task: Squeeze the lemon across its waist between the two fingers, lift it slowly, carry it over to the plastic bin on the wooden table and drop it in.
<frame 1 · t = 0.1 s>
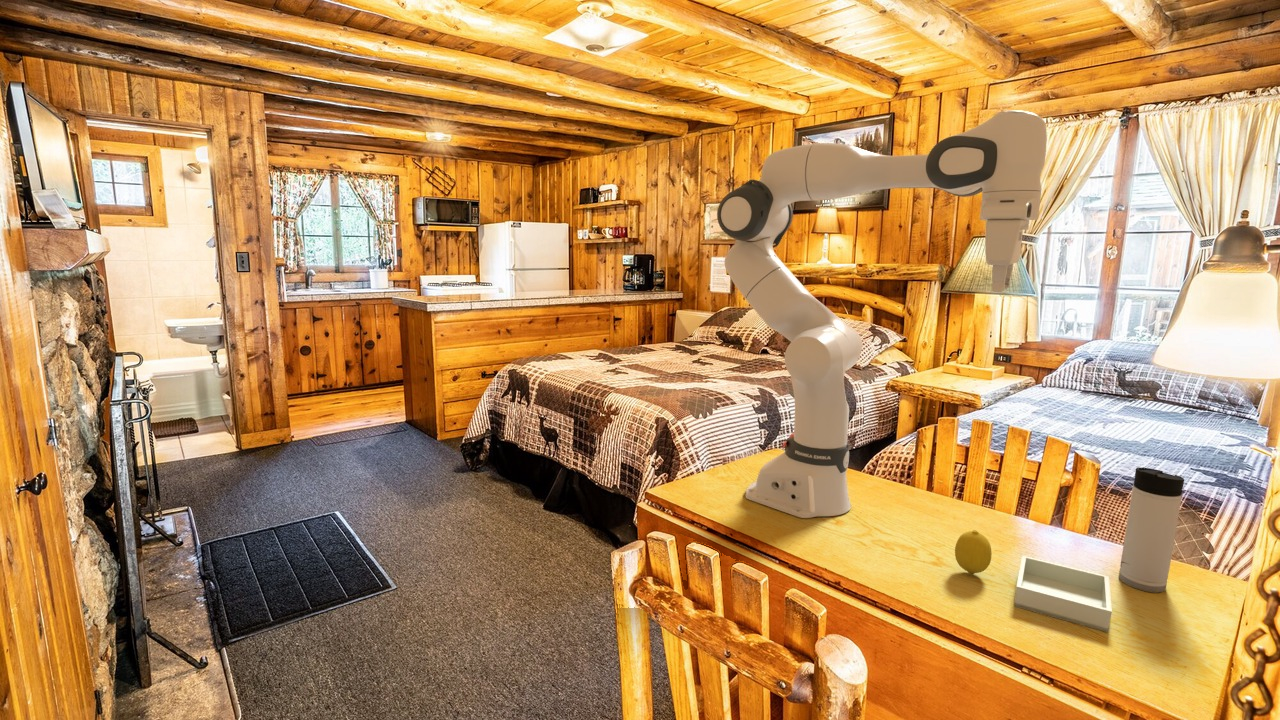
hand: (1000, 290, 112), 48 cm above the table, tool pointing down, fingers open, 8 cm apart
travel mug: (1140, 584, 106), on the table
bin: (1060, 600, 101), on the table
lemon: (970, 575, 109), on the table
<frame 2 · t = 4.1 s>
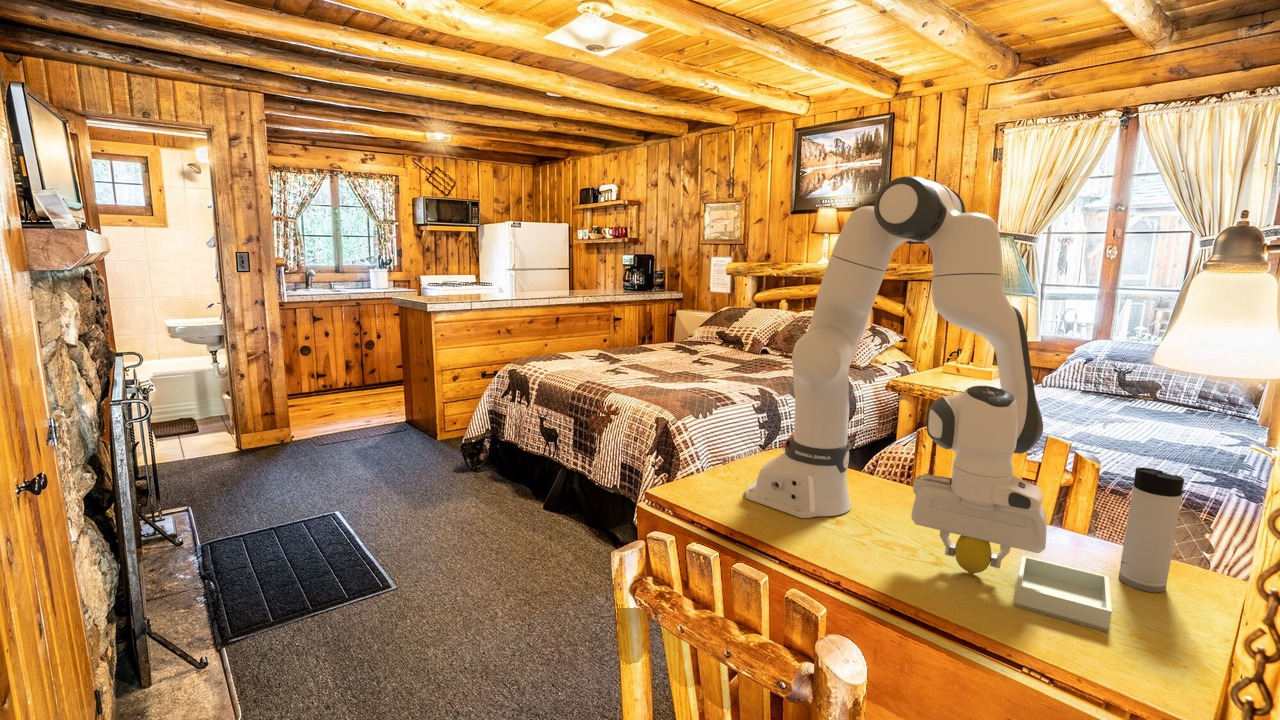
hand: (972, 560, 108), 3 cm above the table, tool pointing down, fingers closed on lemon, 5 cm apart
lemon: (970, 575, 109), on the table, touching gripper
everything else where it was.
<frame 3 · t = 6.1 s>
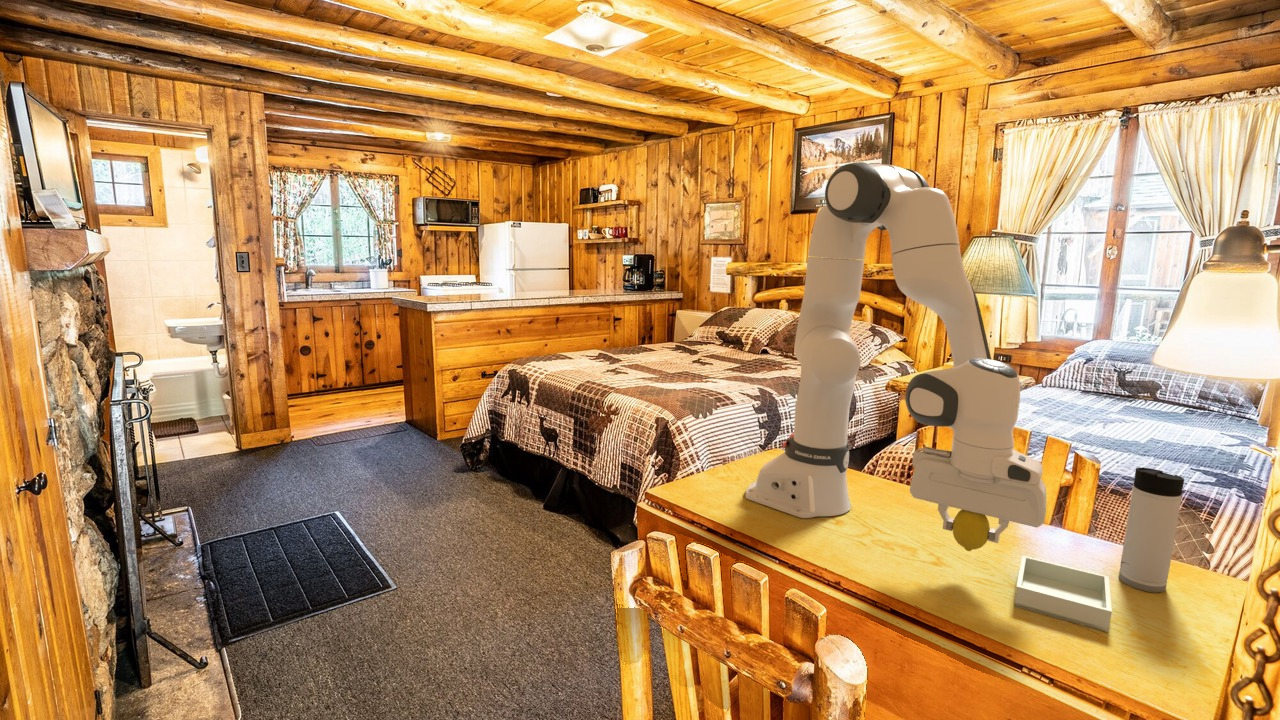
hand: (970, 534, 107), 7 cm above the table, tool pointing down, fingers closed on lemon, 5 cm apart
lemon: (967, 551, 108), point 4 cm above the table, touching gripper
everything else where it was.
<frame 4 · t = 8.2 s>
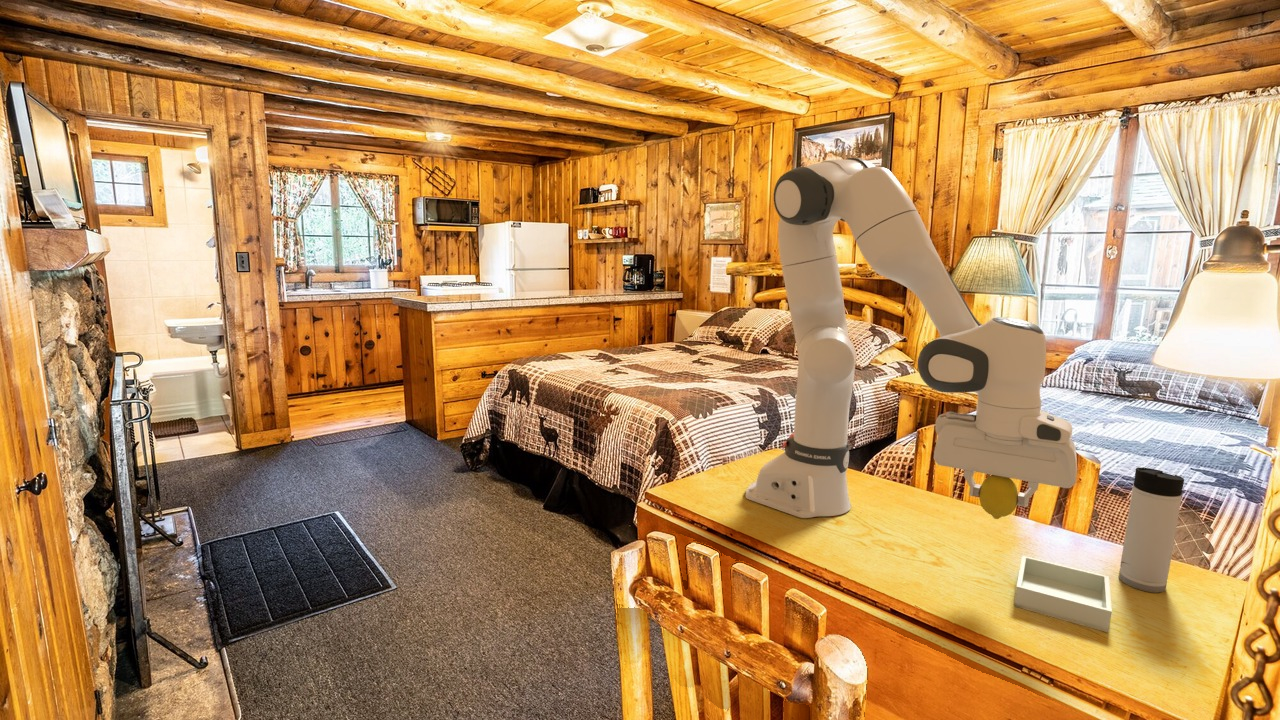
hand: (998, 500, 104), 14 cm above the table, tool pointing down, fingers closed on lemon, 5 cm apart
lemon: (995, 519, 105), point 11 cm above the table, touching gripper
everything else where it was.
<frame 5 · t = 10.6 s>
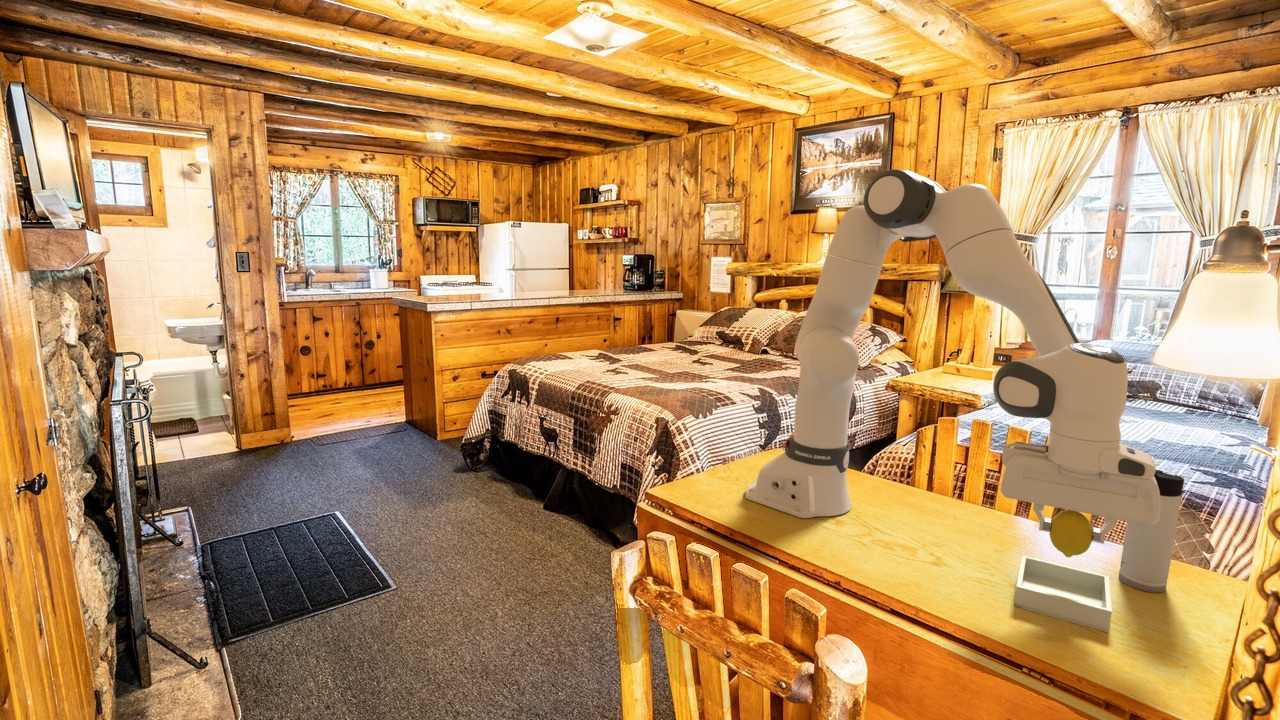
hand: (1070, 535, 99), 11 cm above the table, tool pointing down, fingers closed on lemon, 5 cm apart
lemon: (1067, 558, 100), point 7 cm above the table, touching gripper
everything else where it was.
when the fingers open (5 cm above the table, at t = 12.3 s): lemon stays where it is, resting on bin.
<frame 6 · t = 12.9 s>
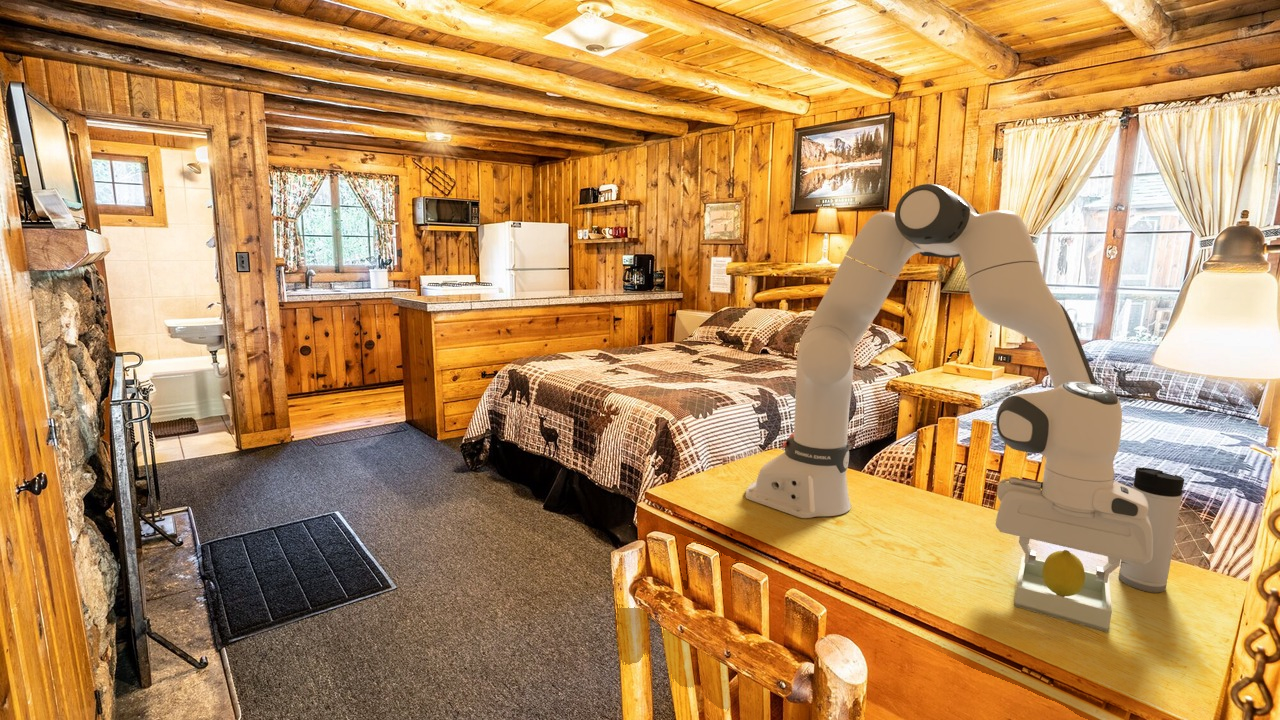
hand: (1064, 571, 100), 5 cm above the table, tool pointing down, fingers open, 8 cm apart
lemon: (1060, 598, 101), resting on bin
everything else where it was.
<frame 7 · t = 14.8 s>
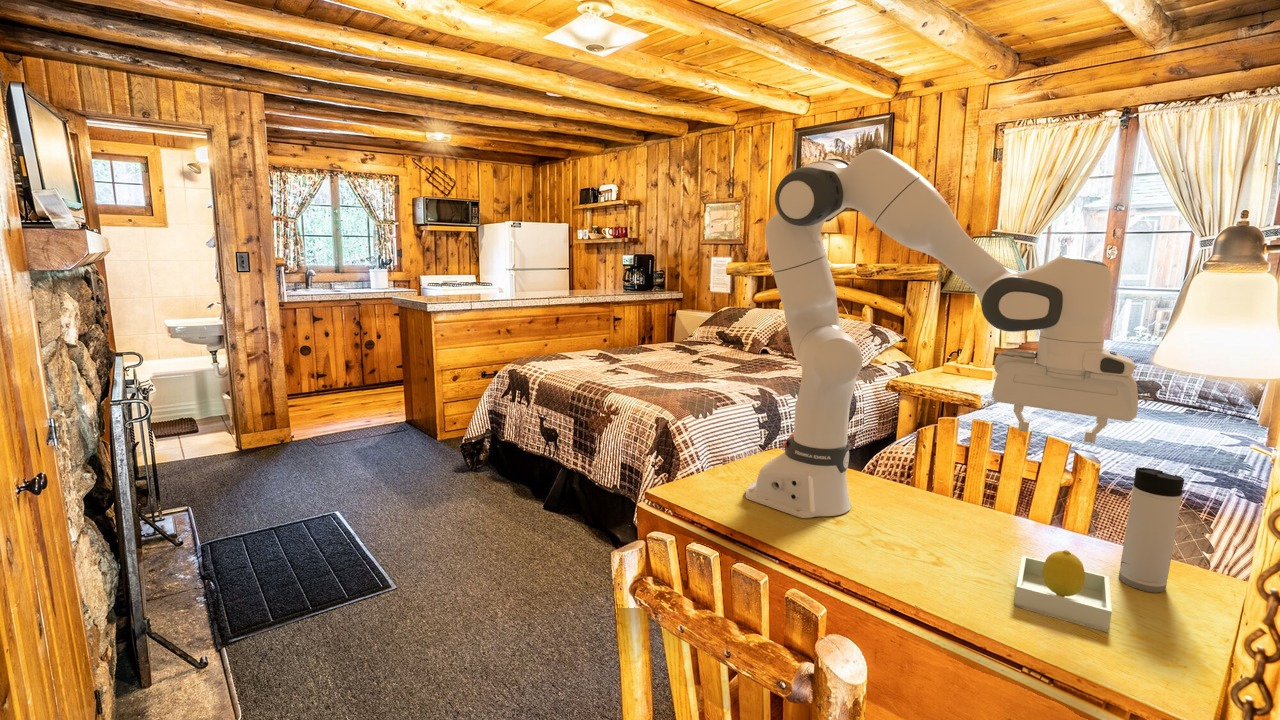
hand: (1055, 436, 107), 24 cm above the table, tool pointing down, fingers open, 8 cm apart
nothing on the table moved.
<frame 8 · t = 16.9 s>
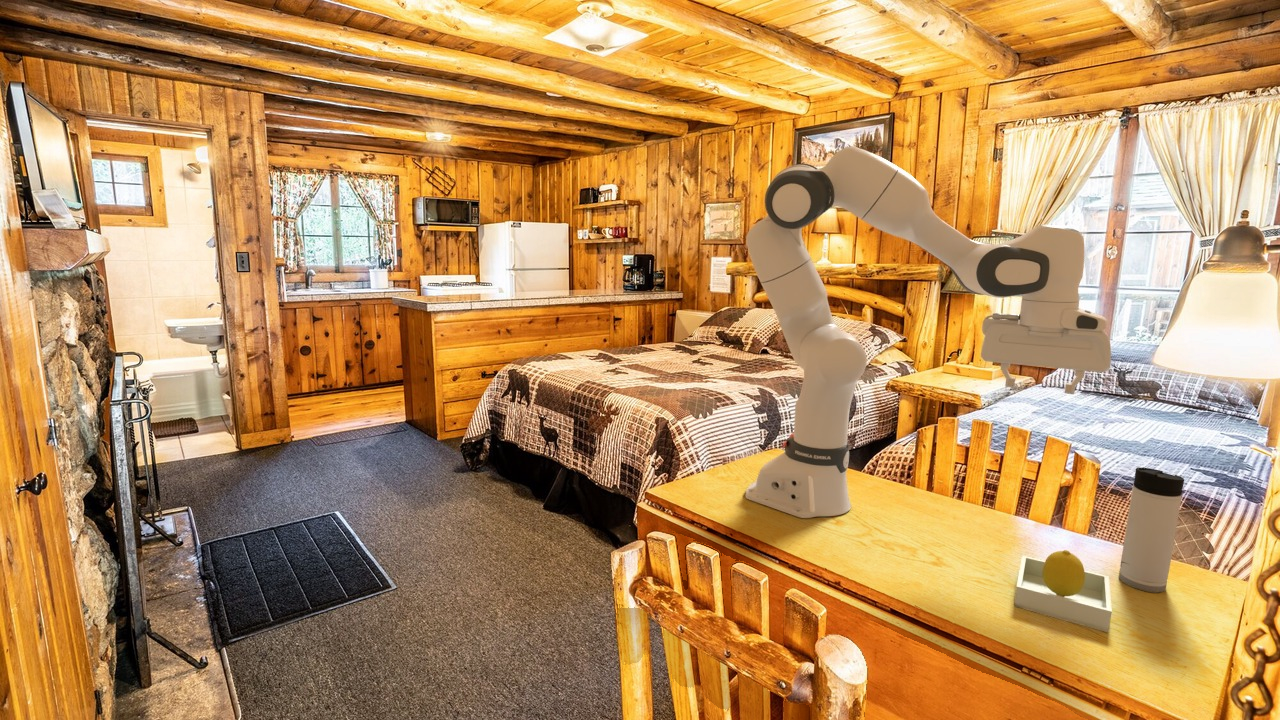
hand: (1039, 389, 118), 29 cm above the table, tool pointing down, fingers open, 8 cm apart
nothing on the table moved.
at the end: lemon inside the target area on the bin (0.1 cm from its centre), point 0.4 cm above the bin's base; the gripper is holding nothing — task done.
